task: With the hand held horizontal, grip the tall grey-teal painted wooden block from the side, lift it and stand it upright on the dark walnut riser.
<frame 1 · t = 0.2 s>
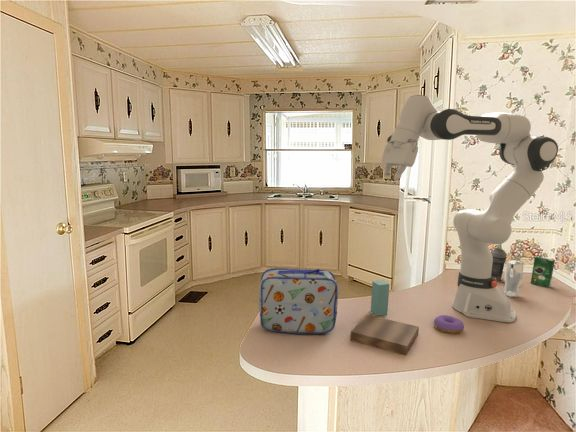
hand: (391, 177, 144), 52 cm above the table, tool tilted 15°, fingers open, 8 cm apart
coffee box: (540, 285, 191), on the table
walnut riser: (384, 337, 133), on the table
beer glass: (510, 295, 176), on the table
lunch box: (298, 329, 138), on the table
donut: (448, 329, 141), on the table
teal block: (378, 312, 154), on the table
beverage cup: (495, 279, 198), on the table
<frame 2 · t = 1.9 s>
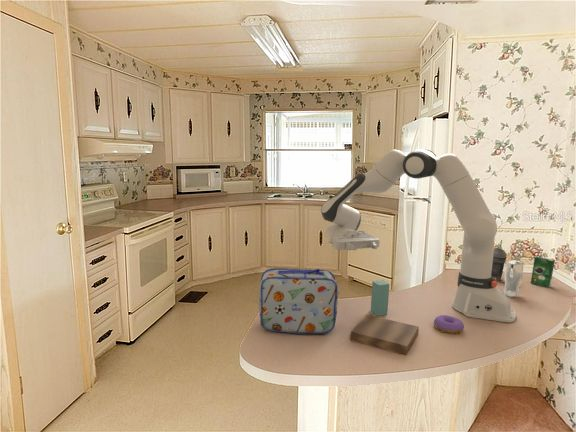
hand: (365, 247, 161), 23 cm above the table, tool horizontal, fingers open, 8 cm apart
nothing on the table moved.
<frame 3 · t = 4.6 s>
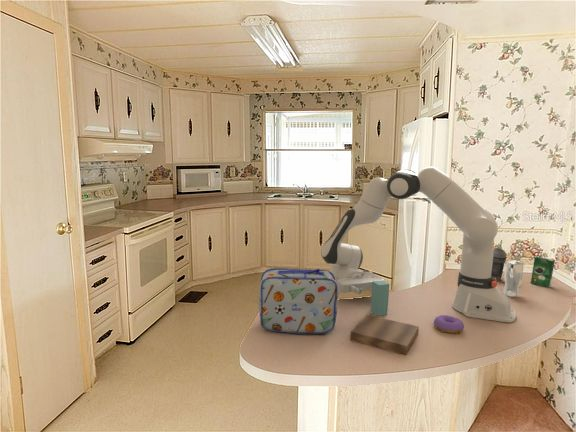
hand: (370, 290, 159), 6 cm above the table, tool horizontal, fingers open, 8 cm apart
nothing on the table moved.
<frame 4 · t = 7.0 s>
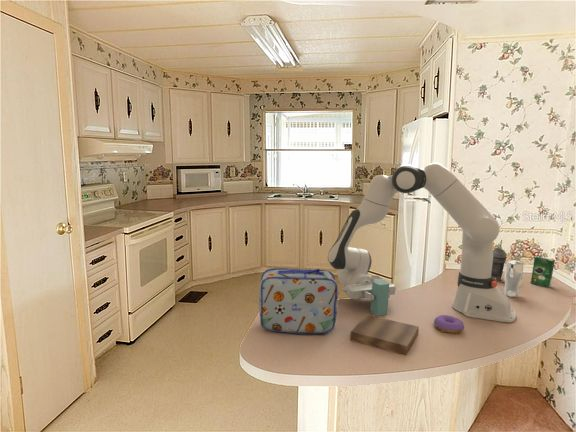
hand: (381, 297, 152), 7 cm above the table, tool horizontal, fingers closed on teal block, 4 cm apart
teal block: (378, 312, 154), on the table, touching gripper
everything else where it was.
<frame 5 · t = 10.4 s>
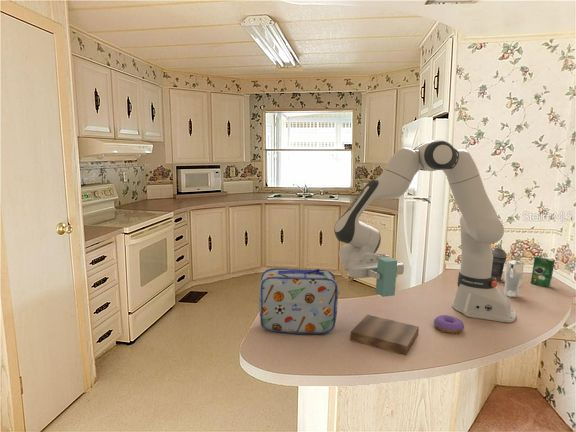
hand: (387, 275, 134), 20 cm above the table, tool horizontal, fingers closed on teal block, 4 cm apart
teal block: (385, 293, 136), point 13 cm above the table, touching gripper
everything else where it was.
when the fingers open (10 cm above the table, at t = 13.9 s): teal block stays where it is, resting on walnut riser.
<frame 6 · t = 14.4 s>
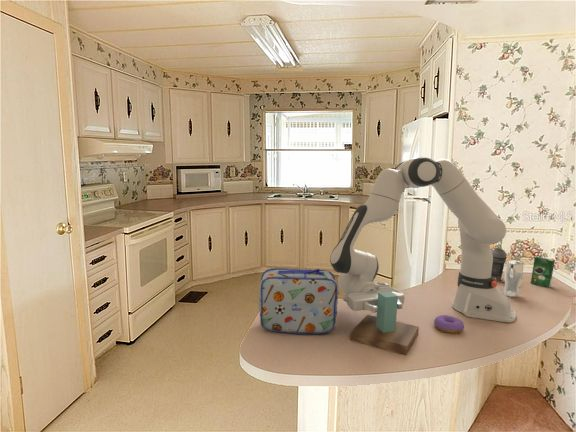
hand: (388, 308, 131), 10 cm above the table, tool horizontal, fingers open, 8 cm apart
teal block: (385, 328, 133), point 3 cm above the table, touching walnut riser
everything else where it was.
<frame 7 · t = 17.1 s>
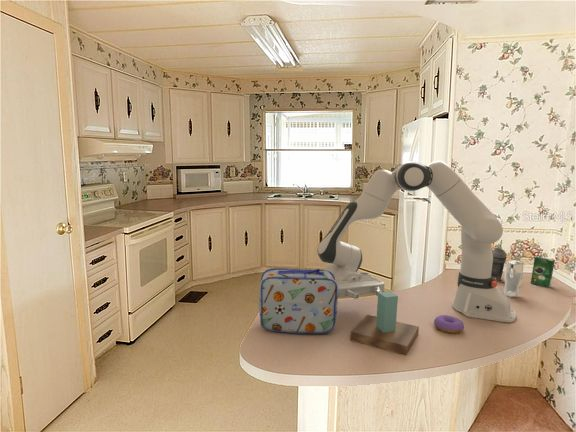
hand: (368, 295, 142), 11 cm above the table, tool horizontal, fingers open, 8 cm apart
nothing on the table moved.
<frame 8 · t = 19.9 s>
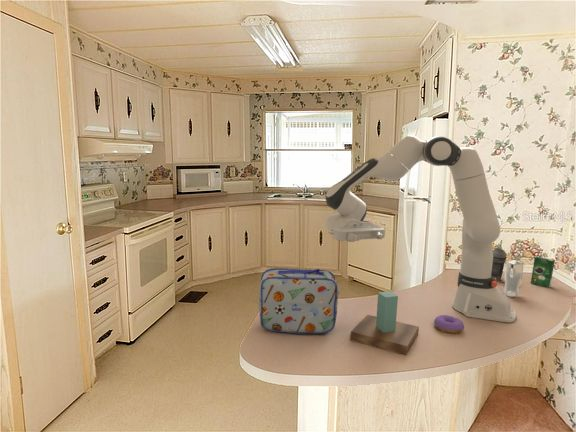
hand: (369, 237, 145), 30 cm above the table, tool horizontal, fingers open, 8 cm apart
nothing on the table moved.
at the end: teal block inside the target area on the walnut riser (0.1 cm from its centre), point 3.0 cm above the walnut riser's base; teal block tilted 0°; the gripper is holding nothing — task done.
